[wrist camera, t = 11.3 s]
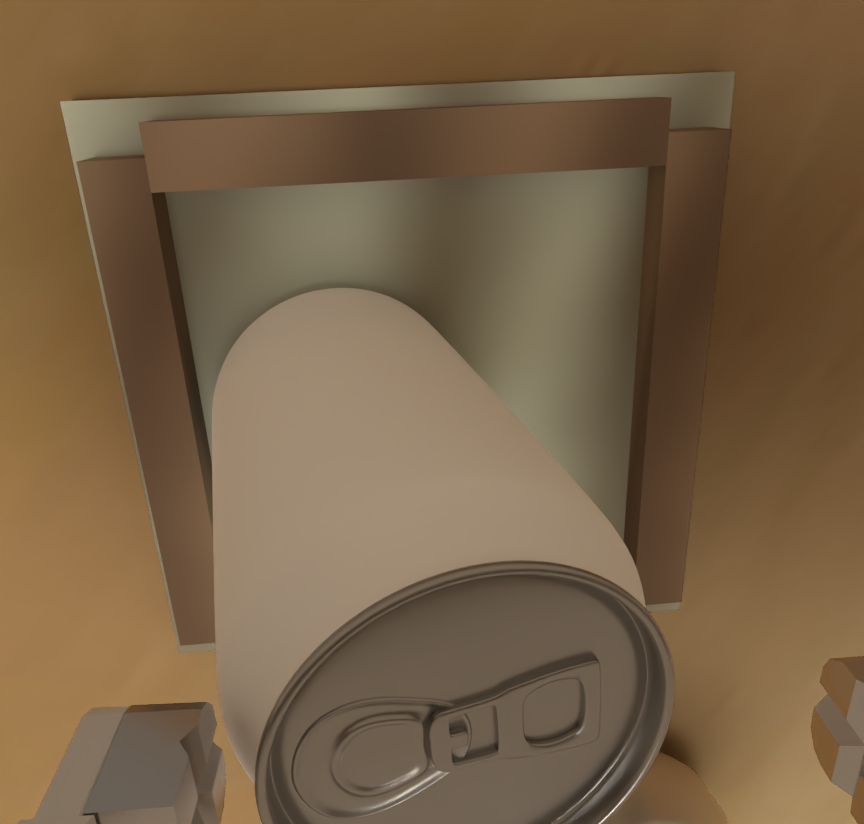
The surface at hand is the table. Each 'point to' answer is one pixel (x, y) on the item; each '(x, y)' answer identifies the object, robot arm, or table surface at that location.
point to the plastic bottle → (670, 798)
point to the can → (415, 588)
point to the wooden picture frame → (423, 270)
